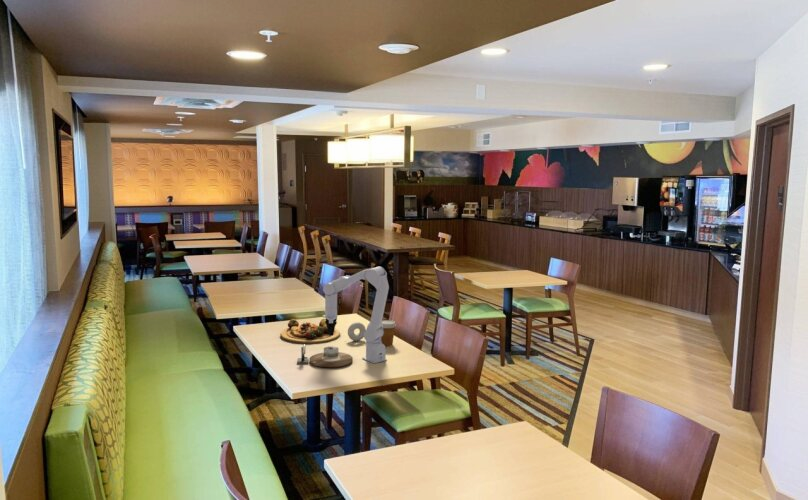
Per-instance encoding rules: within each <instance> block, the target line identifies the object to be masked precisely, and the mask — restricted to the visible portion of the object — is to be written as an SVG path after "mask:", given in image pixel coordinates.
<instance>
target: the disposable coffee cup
mask: <svg viewBox="0 0 808 500" xmlns="http://www.w3.org/2000/svg"><path fill="white" fill-rule="evenodd" d="M382 323H383V331H384V334H383V336H382V337H381V342H382V344H384V345H385V347H392V346H393V343H394V335H395V329H396V326H397V324H396V321H395V320H392V319H382Z"/></svg>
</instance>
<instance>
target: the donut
mask: <svg viewBox="0 0 808 500" xmlns="http://www.w3.org/2000/svg"><path fill="white" fill-rule="evenodd" d="M366 329H367V327H366V326H365V325H364V324H363V323H361V322H360V321H359V322H358V321H357V322H356V321H355V322H353V323H351V324H350V325H349V326H348V329H347V336H348V338H349V339H350V340H352V341H353V342H359V341H361V340H363V339H364V332H365V331H366ZM356 330H359V332H358V333H357V334H356V333H355V331H356Z"/></svg>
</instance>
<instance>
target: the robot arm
mask: <svg viewBox="0 0 808 500" xmlns="http://www.w3.org/2000/svg"><path fill="white" fill-rule="evenodd" d="M387 275H388V273H387V271H386V270H385V268H384V267H382V266H376V267H372V268H371V267H370V268H367V269H363V270H361V271H359V272H356V273H354V274H352V275H350V276H346V275H344V276H343V275H341V276H339V278H337V279H332V280H331V282H326V283H325V284H324V285H323V287H322V290H323V291H322V292H323V293H324V299H325V300H324V301H325V302H324V304H325V305H324V307H325V309H324V313H325V314H324V315H322V319H325V320H326V321H325V323H326V325H327V328H328V334H329V336H333V334H334V329H335V328H336V326H337V324H338V321H337V320H338V293H339V292H341V291H343V290H345V289H348V288H350V287H351V284H353V283H355V282H358V281H359V280H364V281H367V282H368V283H369V284H371V285H372V286H373V287H374V288H375V290H376V292H375V297H374V302H373V307H372V311H371V317H370V321H369V323H368V325H367V327H366V331H365V332H364V337H363V339H364V340H365V356H363V357H361V359H362V360H365V361H366V362H370V363H372V364H378V363H382V362H385V361H387V360H388V359H387V357H386V355H387V354H386V352H387V351H386V350H387V348H386V346H385V345H384V344H382V342H381V337H382V336H383V334H384V331H383V323H382V320H383V318H384V313H385V307H386V304H387V299H388V294H389V290H390V285H389V281H388V276H387Z"/></svg>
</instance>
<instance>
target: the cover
mask: <svg viewBox="0 0 808 500" xmlns="http://www.w3.org/2000/svg"><path fill="white" fill-rule="evenodd" d="M338 352H339V347H337V346H326V347H323V353H324V356H326V357H335V356H338Z"/></svg>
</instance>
